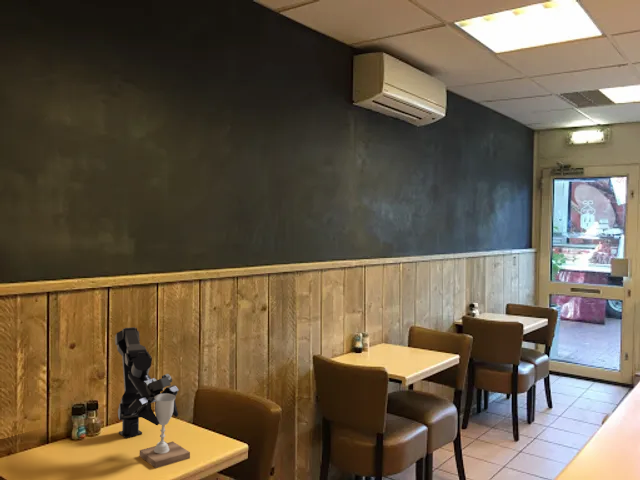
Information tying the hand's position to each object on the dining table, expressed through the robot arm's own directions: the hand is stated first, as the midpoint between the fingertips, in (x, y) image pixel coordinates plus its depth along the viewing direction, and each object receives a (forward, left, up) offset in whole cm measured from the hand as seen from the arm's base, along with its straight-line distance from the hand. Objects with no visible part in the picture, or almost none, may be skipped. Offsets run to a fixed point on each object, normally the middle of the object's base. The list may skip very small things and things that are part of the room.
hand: (168, 420), depth 181 cm
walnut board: (-1, 0, -13) cm, 13 cm away
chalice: (-2, -1, -11) cm, 11 cm away
